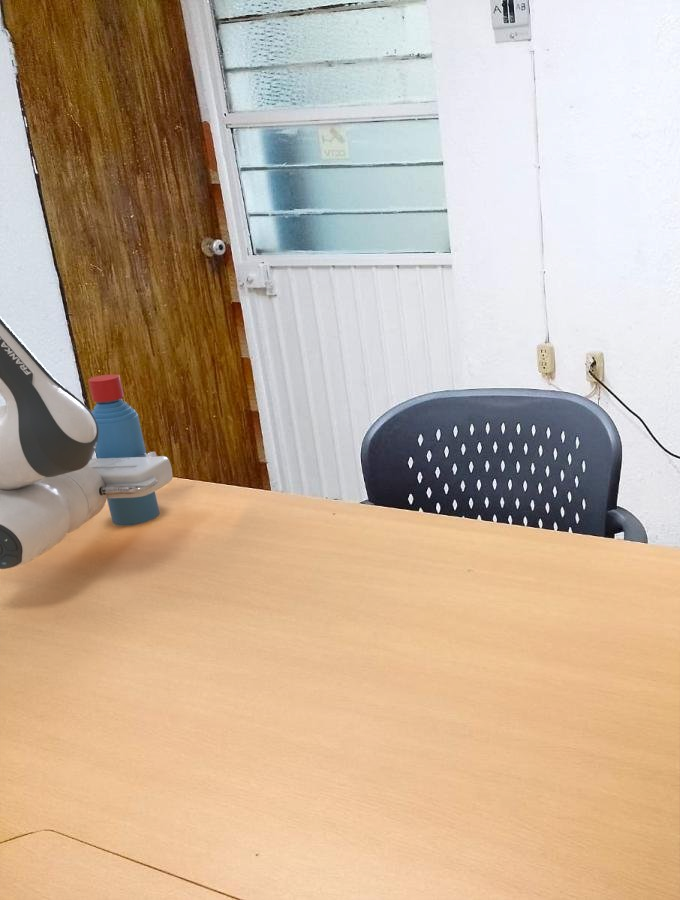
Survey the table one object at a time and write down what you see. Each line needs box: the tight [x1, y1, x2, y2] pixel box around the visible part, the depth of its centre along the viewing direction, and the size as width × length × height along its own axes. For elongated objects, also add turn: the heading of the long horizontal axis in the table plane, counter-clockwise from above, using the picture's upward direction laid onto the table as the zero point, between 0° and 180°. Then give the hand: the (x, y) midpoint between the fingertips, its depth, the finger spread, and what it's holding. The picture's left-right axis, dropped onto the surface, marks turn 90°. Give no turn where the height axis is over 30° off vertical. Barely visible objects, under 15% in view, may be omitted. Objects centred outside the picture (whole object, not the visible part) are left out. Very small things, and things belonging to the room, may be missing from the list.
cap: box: [87, 373, 125, 403], centre depth 120 cm, size 4×4×3 cm
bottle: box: [91, 398, 160, 527], centre depth 123 cm, size 6×6×22 cm
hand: (119, 457), depth 123 cm, fingers open, 8 cm apart
